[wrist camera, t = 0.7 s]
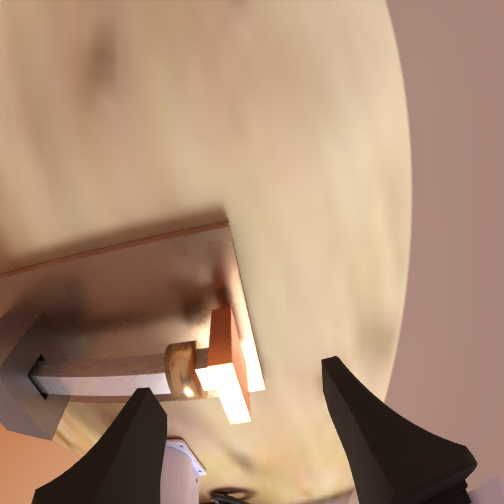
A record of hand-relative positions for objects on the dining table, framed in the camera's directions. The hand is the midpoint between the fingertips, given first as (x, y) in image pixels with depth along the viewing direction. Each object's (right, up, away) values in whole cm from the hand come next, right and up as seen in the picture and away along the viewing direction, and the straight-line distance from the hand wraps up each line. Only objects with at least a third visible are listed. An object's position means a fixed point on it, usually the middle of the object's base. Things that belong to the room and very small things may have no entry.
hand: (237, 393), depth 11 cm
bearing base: (-13, -1, +10) cm, 17 cm away
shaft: (-10, -2, +8) cm, 12 cm away
